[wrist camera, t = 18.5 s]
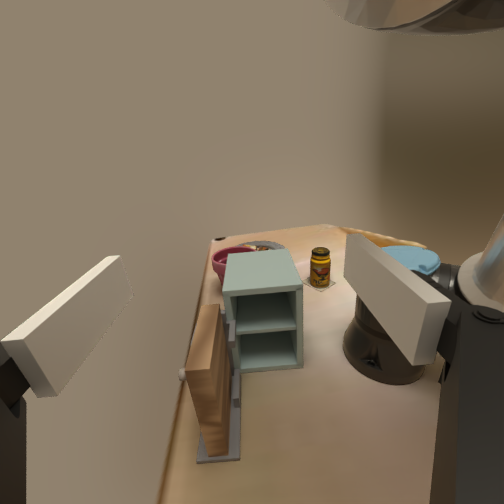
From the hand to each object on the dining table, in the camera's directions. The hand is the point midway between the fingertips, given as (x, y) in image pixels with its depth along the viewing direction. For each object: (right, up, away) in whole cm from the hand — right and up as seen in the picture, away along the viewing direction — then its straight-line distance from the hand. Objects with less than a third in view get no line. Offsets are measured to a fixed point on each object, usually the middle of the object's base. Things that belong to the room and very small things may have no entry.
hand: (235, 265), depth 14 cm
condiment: (+23, -9, +64) cm, 69 cm away
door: (-4, -27, +28) cm, 39 cm away
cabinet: (+2, -24, +36) cm, 43 cm away
